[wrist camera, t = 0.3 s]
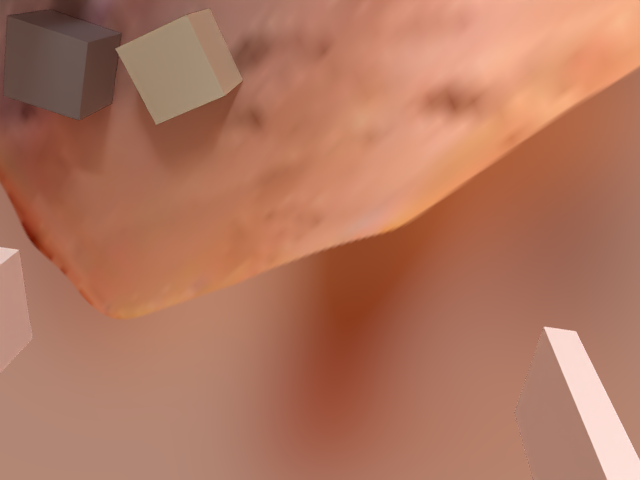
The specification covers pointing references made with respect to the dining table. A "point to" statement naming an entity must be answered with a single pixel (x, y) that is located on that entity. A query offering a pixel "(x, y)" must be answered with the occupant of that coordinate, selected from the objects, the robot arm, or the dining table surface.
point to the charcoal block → (60, 63)
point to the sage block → (180, 65)
